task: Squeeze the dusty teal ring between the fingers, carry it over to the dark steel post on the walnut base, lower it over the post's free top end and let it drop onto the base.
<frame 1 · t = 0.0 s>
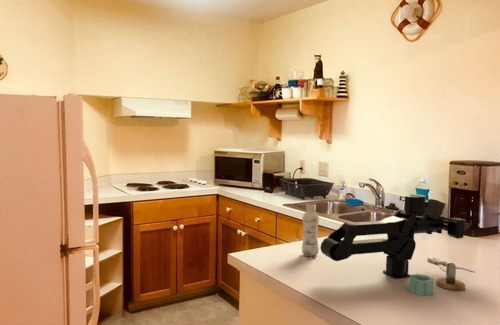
hand: (458, 222, 139), 17 cm above the worktop, tool horizontal, fingers open, 9 cm apart
plastic bottle: (310, 256, 152), on the worktop
ring: (421, 290, 118), on the worktop
post stand: (450, 285, 123), on the worktop
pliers: (446, 268, 141), on the worktop
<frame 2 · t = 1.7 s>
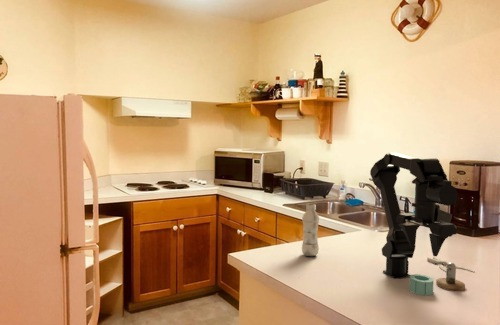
hand: (423, 251, 118), 12 cm above the worktop, tool pointing down, fingers open, 9 cm apart
nothing on the worktop moved.
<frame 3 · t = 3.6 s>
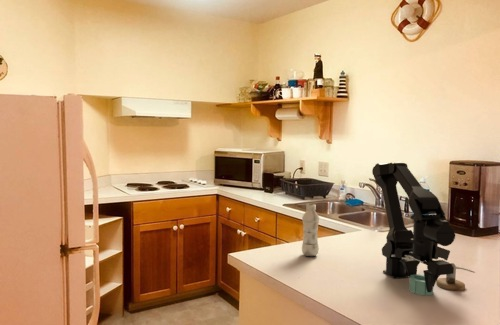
hand: (421, 287, 118), 1 cm above the worktop, tool pointing down, fingers closed on ring, 6 cm apart
ring: (421, 290, 118), on the worktop, touching gripper
everything else where it was.
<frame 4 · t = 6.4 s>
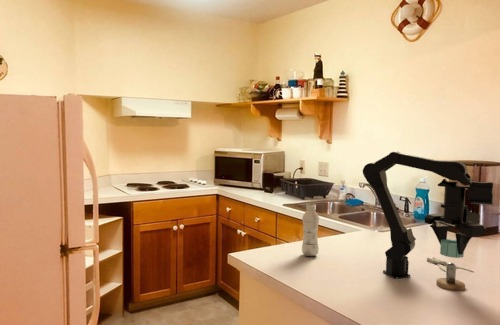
hand: (451, 251, 122), 11 cm above the worktop, tool pointing down, fingers closed on ring, 6 cm apart
ring: (451, 254, 122), point 10 cm above the worktop, touching gripper
everything else where it was.
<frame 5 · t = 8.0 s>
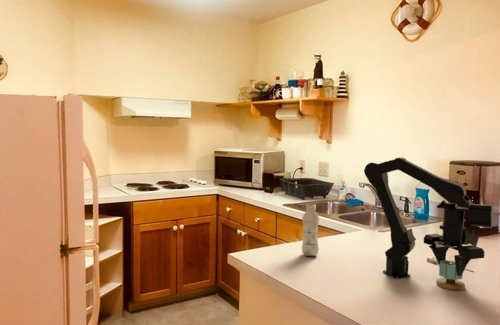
hand: (450, 272, 123), 4 cm above the worktop, tool pointing down, fingers closed on ring, 6 cm apart
ring: (450, 275, 123), point 3 cm above the worktop, touching gripper
everything else where it was.
when the fingers open (4 cm above the worktop, at t = 9.3 s): ring drops 2 cm, resting on post stand.
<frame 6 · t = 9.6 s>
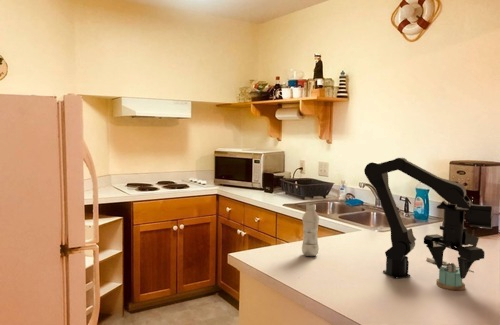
hand: (450, 273, 123), 4 cm above the worktop, tool pointing down, fingers open, 9 cm apart
ring: (450, 282, 123), point 1 cm above the worktop, touching post stand
everything else where it was.
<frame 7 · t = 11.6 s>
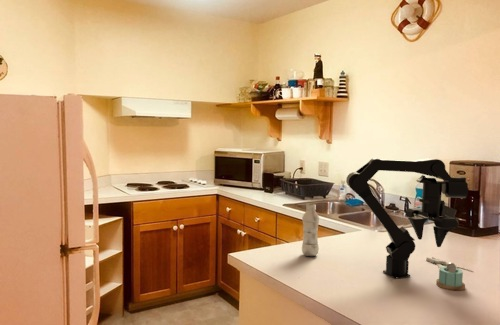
hand: (429, 243, 130), 11 cm above the worktop, tool pointing down, fingers open, 9 cm apart
nothing on the worktop moved.
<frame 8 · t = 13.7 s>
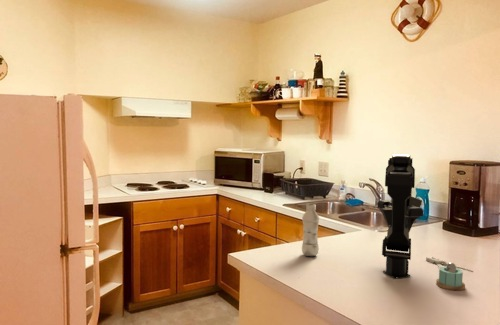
hand: (398, 231, 143), 12 cm above the worktop, tool pointing down, fingers open, 9 cm apart
nothing on the worktop moved.
at the end: ring 0.0 cm off-centre on the post stand, point 1.0 cm above the post stand's base; ring tilted 0°; the gripper is holding nothing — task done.
